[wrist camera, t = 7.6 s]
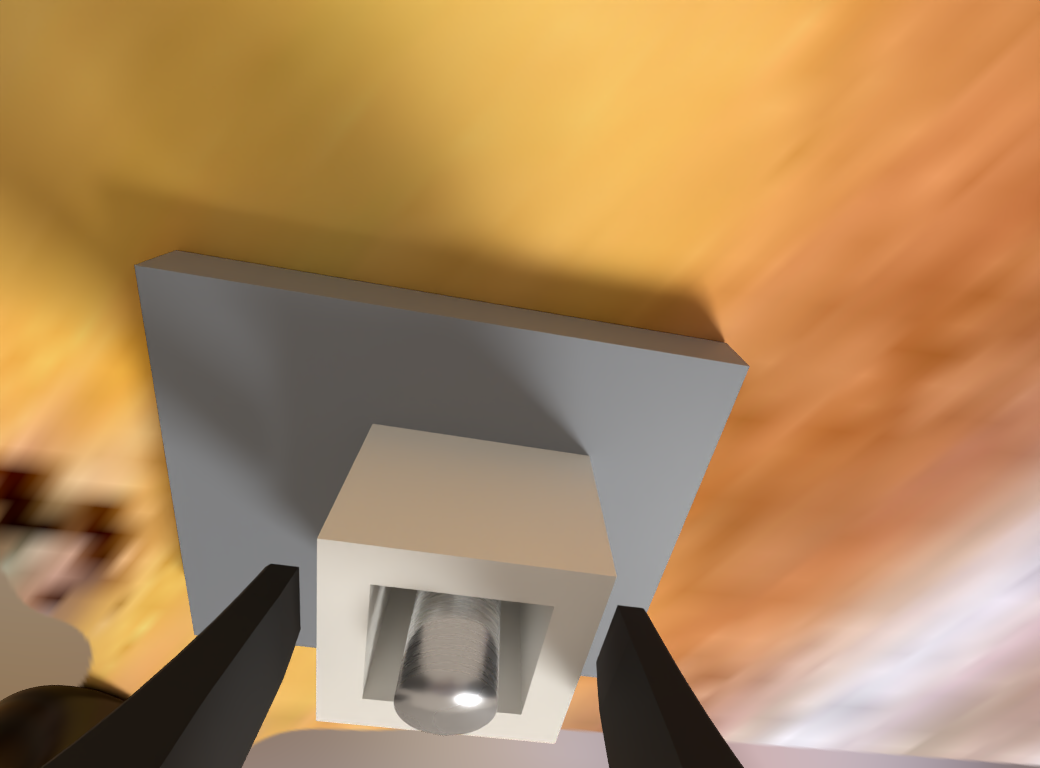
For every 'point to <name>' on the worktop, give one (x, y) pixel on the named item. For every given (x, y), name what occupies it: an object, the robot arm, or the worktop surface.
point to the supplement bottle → (48, 722)
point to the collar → (461, 571)
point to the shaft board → (418, 406)
